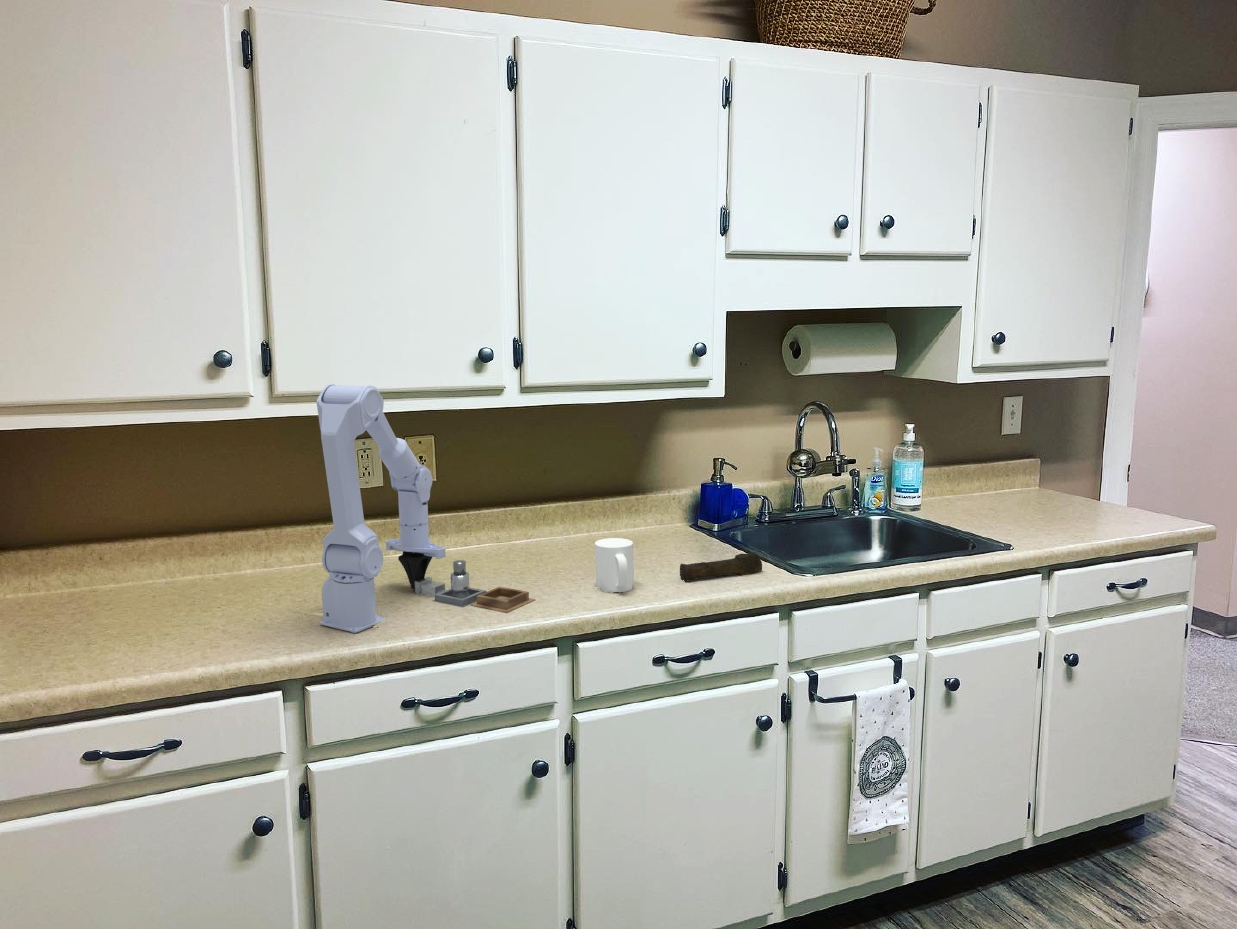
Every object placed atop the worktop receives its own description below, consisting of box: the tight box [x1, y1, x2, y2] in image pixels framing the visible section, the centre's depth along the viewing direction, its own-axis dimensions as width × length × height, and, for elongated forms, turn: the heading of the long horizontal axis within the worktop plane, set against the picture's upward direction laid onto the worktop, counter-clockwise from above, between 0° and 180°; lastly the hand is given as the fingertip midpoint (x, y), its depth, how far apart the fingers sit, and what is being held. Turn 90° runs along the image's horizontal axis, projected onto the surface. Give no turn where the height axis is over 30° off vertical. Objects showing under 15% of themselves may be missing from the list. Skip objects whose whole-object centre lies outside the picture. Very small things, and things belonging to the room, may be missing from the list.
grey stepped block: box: [414, 576, 446, 598], centre depth 194 cm, size 5×4×3 cm
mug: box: [594, 537, 635, 593], centre depth 197 cm, size 12×9×8 cm
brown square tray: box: [469, 586, 536, 614], centre depth 187 cm, size 9×9×2 cm
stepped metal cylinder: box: [450, 559, 471, 599], centre depth 189 cm, size 4×4×8 cm
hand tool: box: [679, 552, 763, 583], centre depth 205 cm, size 19×4×5 cm, turn 108°
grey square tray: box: [432, 587, 487, 608], centre depth 190 cm, size 8×8×2 cm
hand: (417, 587), depth 196 cm, fingers closed
